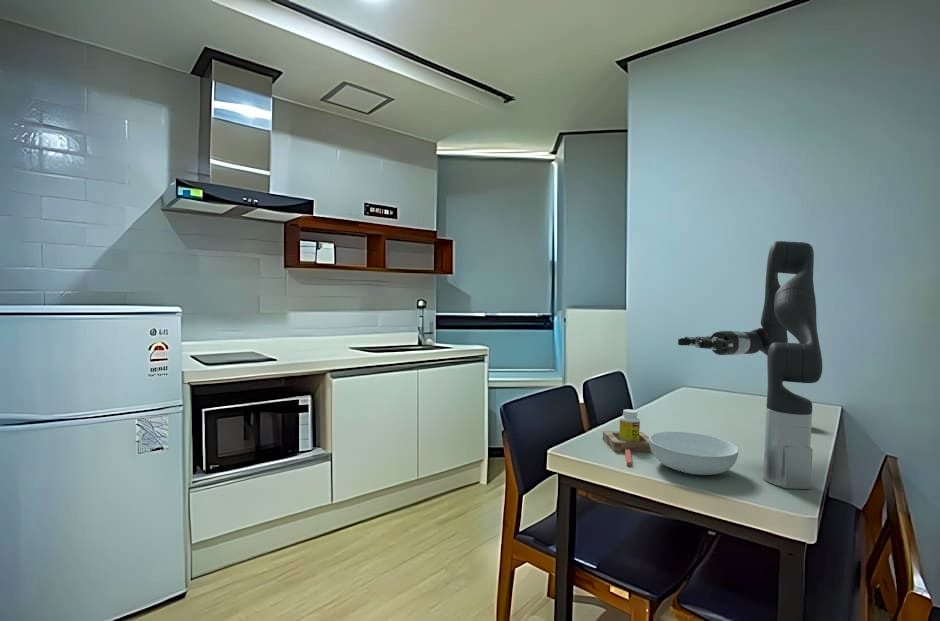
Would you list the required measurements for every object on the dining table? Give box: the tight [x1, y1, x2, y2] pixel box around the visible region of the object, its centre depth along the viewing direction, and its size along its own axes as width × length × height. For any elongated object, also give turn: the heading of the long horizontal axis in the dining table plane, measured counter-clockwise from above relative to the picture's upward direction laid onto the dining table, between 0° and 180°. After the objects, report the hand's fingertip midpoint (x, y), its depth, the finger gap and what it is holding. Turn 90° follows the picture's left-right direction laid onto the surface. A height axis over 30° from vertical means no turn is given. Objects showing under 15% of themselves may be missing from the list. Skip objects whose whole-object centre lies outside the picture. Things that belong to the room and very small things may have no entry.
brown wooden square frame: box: [602, 430, 652, 453], centre depth 149 cm, size 12×12×2 cm
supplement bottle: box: [619, 408, 641, 441], centre depth 149 cm, size 6×6×10 cm
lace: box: [624, 449, 633, 467], centre depth 136 cm, size 12×1×1 cm, turn 165°
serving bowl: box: [648, 430, 740, 476], centre depth 130 cm, size 21×21×7 cm
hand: (689, 343), depth 154 cm, fingers open, 8 cm apart
